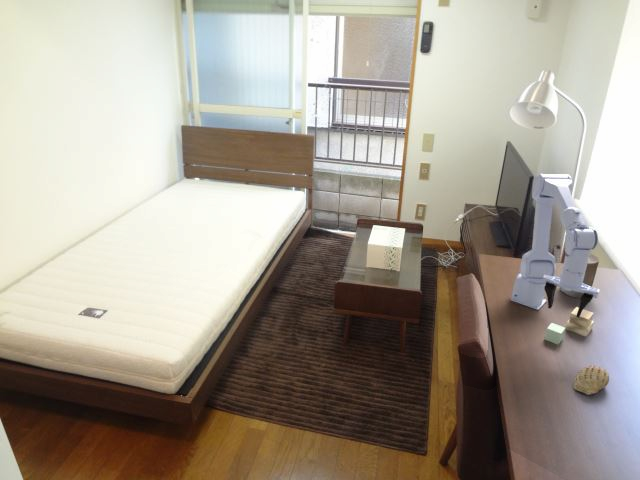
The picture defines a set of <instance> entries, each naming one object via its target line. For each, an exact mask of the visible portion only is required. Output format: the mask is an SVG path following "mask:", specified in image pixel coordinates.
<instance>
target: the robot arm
mask: <svg viewBox="0 0 640 480" xmlns="http://www.w3.org/2000/svg"><path fill="white" fill-rule="evenodd" d="M572 188H573V179H572V177H571V175H570V174H568V173H567V174H555V173H554V174H551V173H550V174H547V173H546V174H545V173H537V174H536V175H535V177H534V178H533V181H532V188H531V189H532V190H531V198H532V199H533V200H535V209H534V211H535V212H534V222H533V233H532V244H531V249H530V250H529V251H528V252H526V253H524V254H522V257H521V262H520V264H519V272H520V273H518V274H517V276H516V278H515V280H514V283H513V288H512V293H511V297H510V301H512V302H515V303H516V304H520V305H523V306H526V307H528V308H531V309H534V310H537V311H539V310H540V309H541V308H542V307H543V306H544V305H545V303H546V302H547V309H550V310H551V309H552V307H553V305H554V300H555V294H556V290H557V287H558V288H560V287H562V288H563V289H564V290H568V291H571V290H573V291H576V292H580V293H583V295H582V297H581V298H580V301H579V302H580V303H579V307H578V308H579V310H578V312H577V316H576V317H580V315H581V312H582V310H583V309H584V310H585V308H586V306H587V305H589V304H590V302H591V301H592V300H593V298H595V299H598V297H599V294H600V290H601V289H599V288H595V287H593V286H592V287H591V286H588V285H586V284H583V279H584V275H585V271H586V267H587V263H588V259H589V255H590V254H591V250H595V248H597V246H598V242H599V236H598V232H597V230H596V229H595V228H593V227H592V226H591V225H588V223H587V221H586V218H585V216H584V214H583V212H582V210H581V209H580V208H579V207H578V208H577V207H576V206H575V203H574V199H573V197H572V193H571V192H572ZM555 202H556V204H557V205H558V207H559V209H560V211H561V213H560V214H559V215H560V216H559V219H560V221H561V224H562V226H563V228H564V231H565V233H566V234H565V235H564V241H565V242H564V244H565V247H564V253H565V256H564V260H563V265H562V269H561V273H560V277H558V276H556V273H557V266H556V257H555V256H554V255H553V254H551V253H550V252H549V249H550V237H551V236H550V235H551V226H552V218H553V217H552V215H553V205H554V203H555ZM545 295H546V297H547V299H546V298H544V297H545Z"/></svg>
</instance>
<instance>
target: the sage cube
mask: <svg viewBox="0 0 640 480" xmlns="http://www.w3.org/2000/svg"><path fill="white" fill-rule="evenodd" d="M565 332H566V326H565V327H564V326H562V325H559V324H556V323H553V322H551V323H550V324H549V325H548V327H547V328H546V330H545V335H544V340H545V341H547V342H551V343H553V344H555V345H559V344H560V343H561V342H562V340H563V339H564V335H565Z"/></svg>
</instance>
